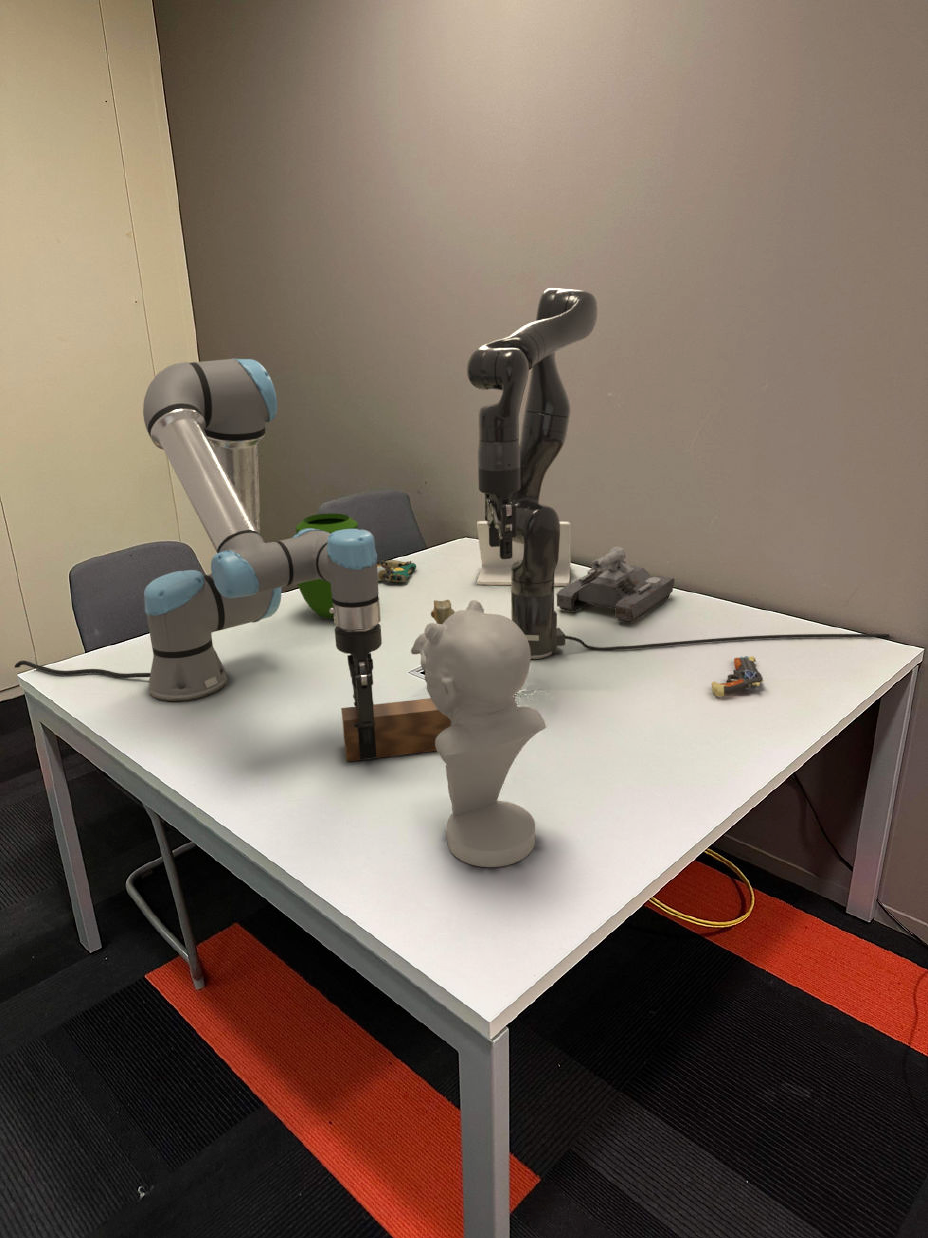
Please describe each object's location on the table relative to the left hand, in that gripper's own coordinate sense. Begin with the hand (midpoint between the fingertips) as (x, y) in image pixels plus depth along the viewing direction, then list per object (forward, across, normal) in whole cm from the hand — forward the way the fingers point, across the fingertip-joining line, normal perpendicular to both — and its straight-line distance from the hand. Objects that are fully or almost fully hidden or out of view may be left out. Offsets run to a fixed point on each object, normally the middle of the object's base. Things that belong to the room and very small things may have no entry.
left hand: (366, 749), depth 148 cm
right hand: (-28, -17, +28) cm, 43 cm away
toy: (+1, -59, +68) cm, 90 cm away
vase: (+1, -72, -1) cm, 72 cm away
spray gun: (+1, -99, +17) cm, 100 cm away
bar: (+1, 0, +9) cm, 9 cm away
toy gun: (+1, -11, +75) cm, 76 cm away
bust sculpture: (+1, +27, +13) cm, 30 cm away
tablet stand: (+1, -89, +53) cm, 103 cm away
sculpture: (+1, -31, +19) cm, 36 cm away
